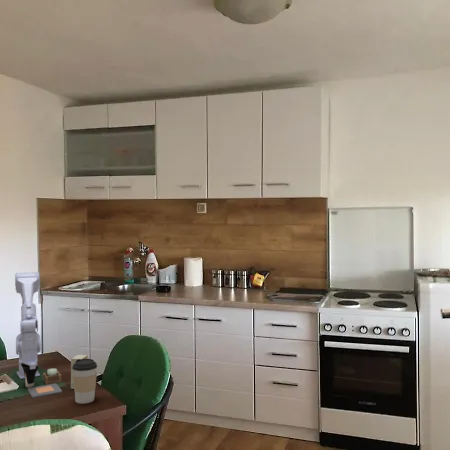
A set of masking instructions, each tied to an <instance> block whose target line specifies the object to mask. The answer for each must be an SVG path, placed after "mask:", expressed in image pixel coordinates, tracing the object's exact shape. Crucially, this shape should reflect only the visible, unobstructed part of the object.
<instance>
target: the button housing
mask: <svg viewBox="0 0 450 450" xmlns="http://www.w3.org/2000/svg"><path fill="white" fill-rule="evenodd" d="M42 381H43V382H44V384H45V385H49V384H55V383H56V384H60V383H62V374H61V373H60V372H59V370H57V375H55V376H49V377H47V372H43V373H42Z"/></svg>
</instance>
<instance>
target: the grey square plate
mask: <svg viewBox="0 0 450 450" xmlns="http://www.w3.org/2000/svg"><path fill="white" fill-rule="evenodd" d="M27 391H28V393H29V395H30V396H31V397H32V399H35V398H40V397H45V396H50V395H56V394H62V393H63V390H62V388H61V387H60V386H59V385H58V383H54V384H48V385H46V384H45V385H39V386H33V387H27Z"/></svg>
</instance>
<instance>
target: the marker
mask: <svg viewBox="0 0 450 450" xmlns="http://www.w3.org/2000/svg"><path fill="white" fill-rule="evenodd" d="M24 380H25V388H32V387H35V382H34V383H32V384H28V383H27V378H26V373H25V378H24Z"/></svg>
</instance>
